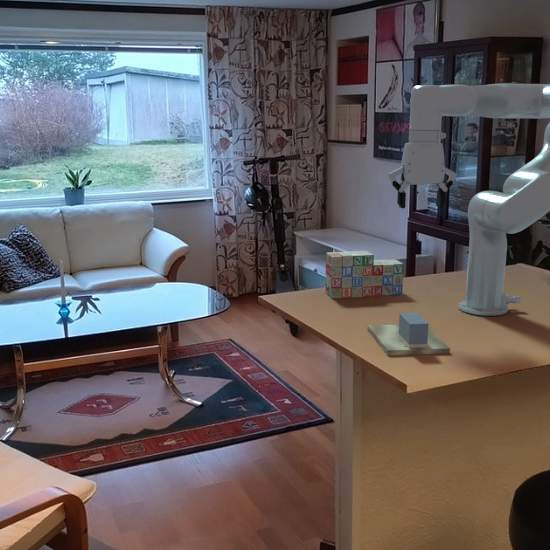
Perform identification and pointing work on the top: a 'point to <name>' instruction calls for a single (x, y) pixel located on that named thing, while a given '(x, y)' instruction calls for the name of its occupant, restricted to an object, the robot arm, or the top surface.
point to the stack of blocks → (362, 275)
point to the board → (396, 346)
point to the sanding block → (413, 330)
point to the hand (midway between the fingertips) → (420, 207)
